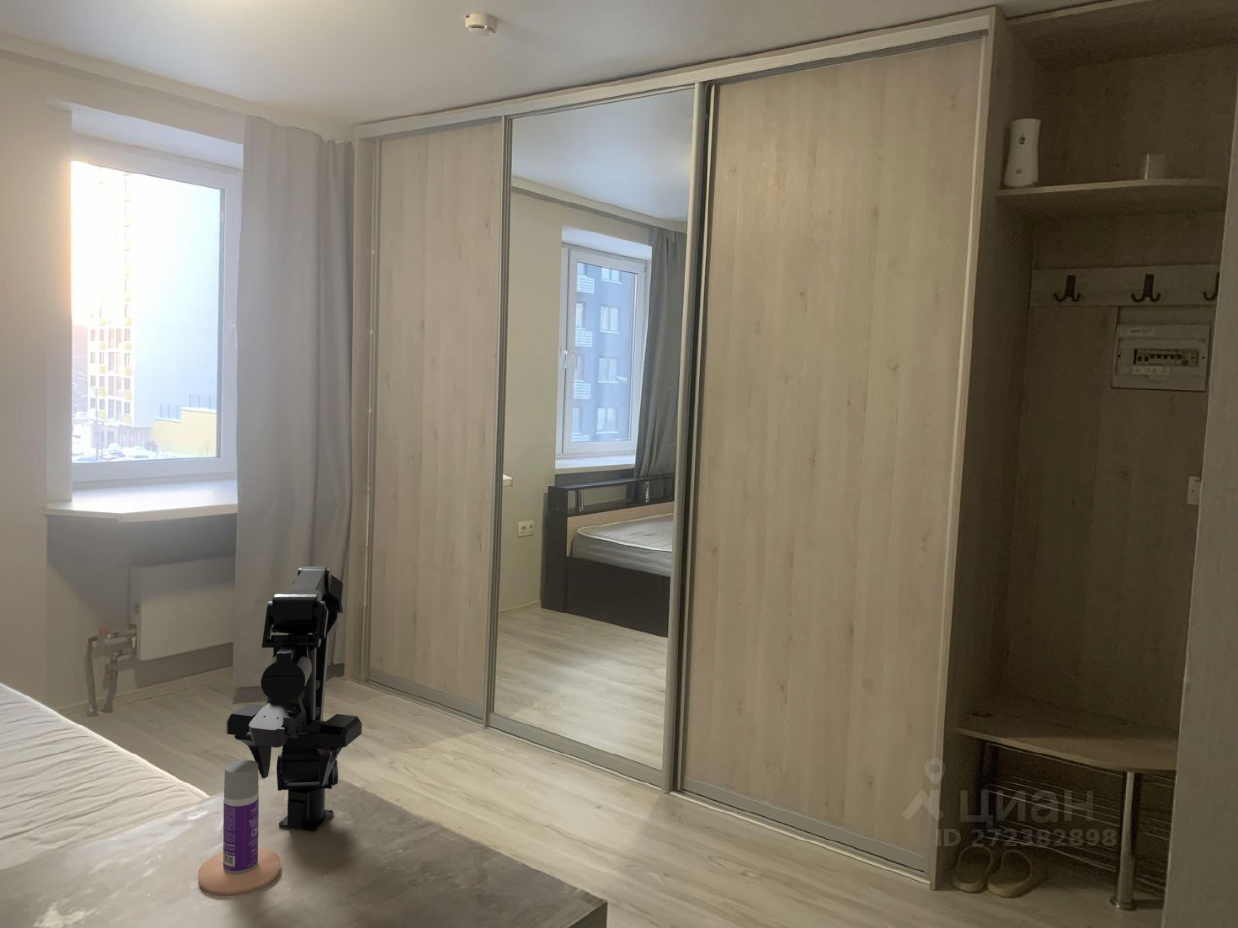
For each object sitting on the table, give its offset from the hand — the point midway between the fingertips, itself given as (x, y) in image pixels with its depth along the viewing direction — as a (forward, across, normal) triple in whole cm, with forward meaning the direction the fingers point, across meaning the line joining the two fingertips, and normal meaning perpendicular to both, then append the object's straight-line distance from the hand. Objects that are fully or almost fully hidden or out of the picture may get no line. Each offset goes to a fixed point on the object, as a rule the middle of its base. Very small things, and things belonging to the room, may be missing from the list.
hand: (293, 781), depth 133 cm
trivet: (+13, -6, -4) cm, 15 cm away
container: (+12, -6, -4) cm, 14 cm away
